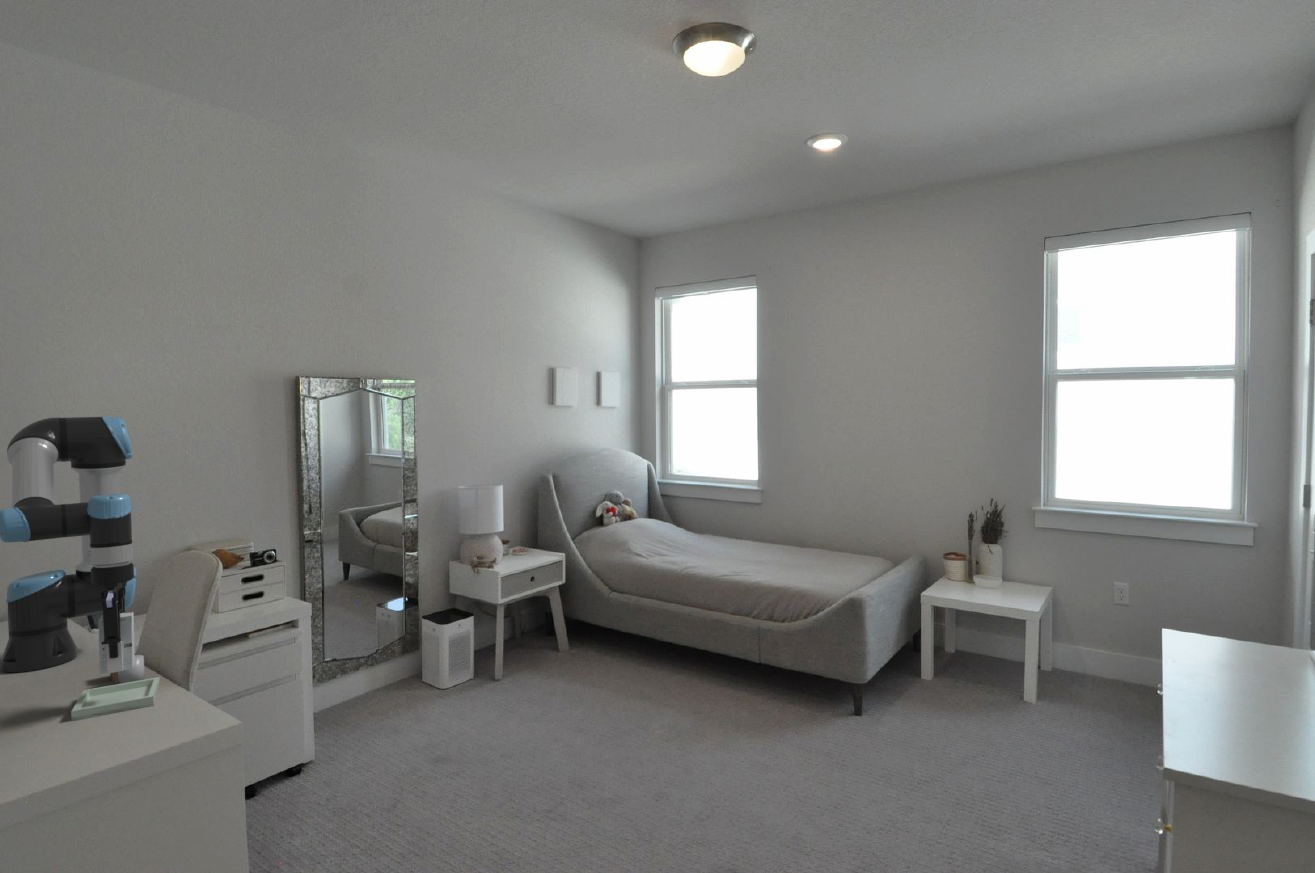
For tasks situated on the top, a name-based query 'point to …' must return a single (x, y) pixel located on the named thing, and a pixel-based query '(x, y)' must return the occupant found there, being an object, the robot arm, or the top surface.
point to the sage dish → (116, 698)
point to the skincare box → (126, 639)
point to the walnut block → (115, 675)
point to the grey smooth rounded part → (133, 671)
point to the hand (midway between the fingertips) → (117, 668)
